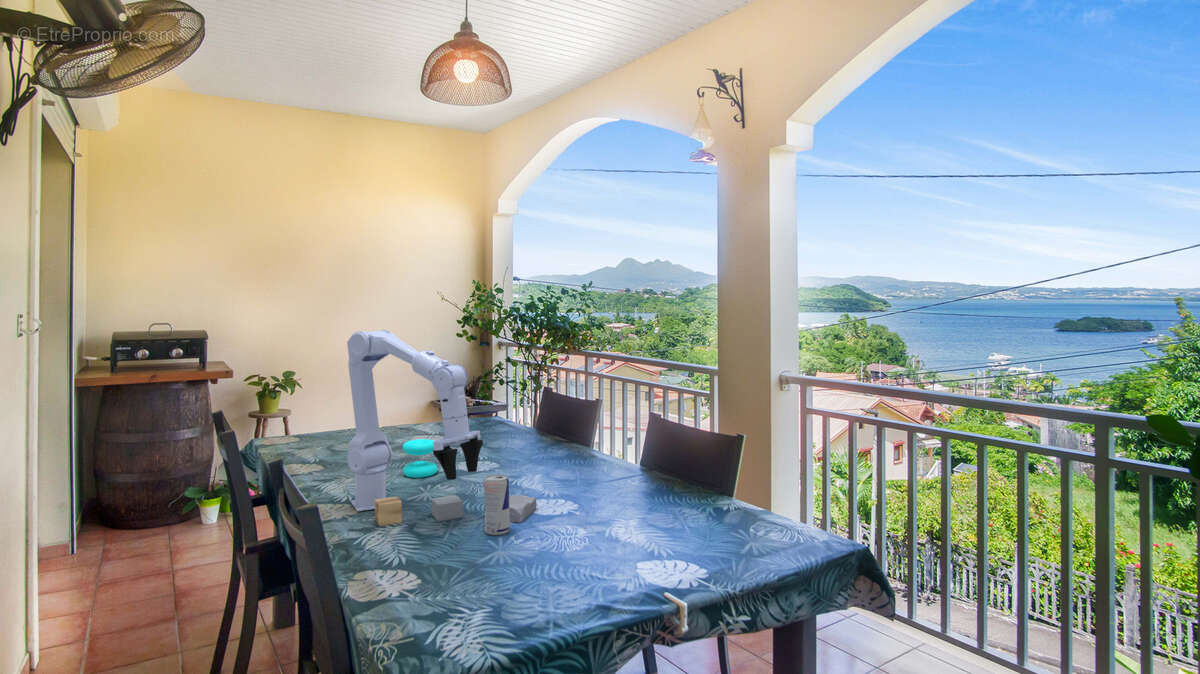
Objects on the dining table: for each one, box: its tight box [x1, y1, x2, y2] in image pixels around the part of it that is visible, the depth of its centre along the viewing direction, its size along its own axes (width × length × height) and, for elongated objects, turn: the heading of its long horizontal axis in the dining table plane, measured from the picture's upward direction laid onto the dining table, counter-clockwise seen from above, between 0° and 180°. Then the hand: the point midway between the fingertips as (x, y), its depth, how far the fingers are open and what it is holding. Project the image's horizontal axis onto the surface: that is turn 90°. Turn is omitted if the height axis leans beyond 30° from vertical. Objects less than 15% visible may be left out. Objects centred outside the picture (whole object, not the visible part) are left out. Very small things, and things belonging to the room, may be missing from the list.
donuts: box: [402, 438, 438, 479], centre depth 192 cm, size 10×10×10 cm
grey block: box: [430, 494, 465, 522], centre depth 152 cm, size 6×6×4 cm
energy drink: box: [483, 474, 511, 536], centre depth 141 cm, size 5×5×12 cm
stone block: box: [509, 494, 538, 524], centre depth 153 cm, size 12×5×10 cm
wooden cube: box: [374, 495, 403, 527], centre depth 148 cm, size 5×5×5 cm
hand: (462, 475), depth 148 cm, fingers open, 7 cm apart
